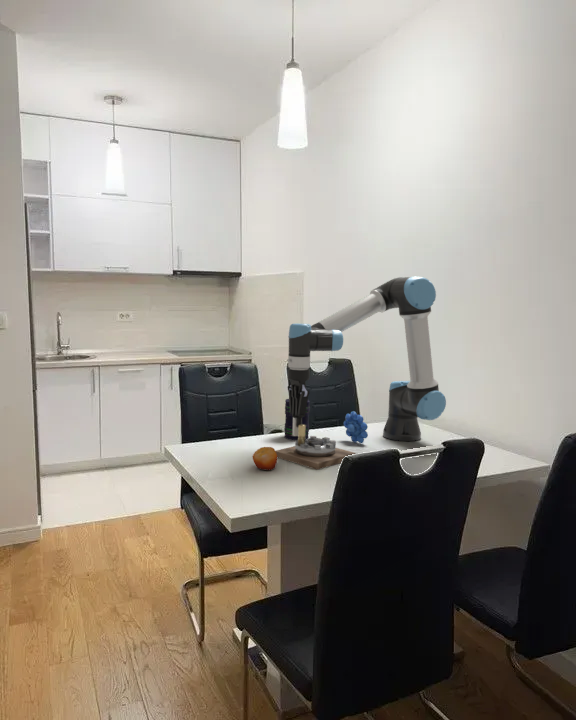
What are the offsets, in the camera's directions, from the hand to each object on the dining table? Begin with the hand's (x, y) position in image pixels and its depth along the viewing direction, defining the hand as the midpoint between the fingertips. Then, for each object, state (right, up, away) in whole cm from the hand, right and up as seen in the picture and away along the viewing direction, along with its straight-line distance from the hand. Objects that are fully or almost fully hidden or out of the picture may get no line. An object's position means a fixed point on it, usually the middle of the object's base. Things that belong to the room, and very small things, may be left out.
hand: (296, 435), depth 198 cm
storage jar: (0, -5, +28) cm, 28 cm away
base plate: (+6, -8, 0) cm, 10 cm away
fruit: (-10, -9, -15) cm, 20 cm away
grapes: (+22, -6, +22) cm, 32 cm away
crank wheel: (+6, -5, -1) cm, 8 cm away
